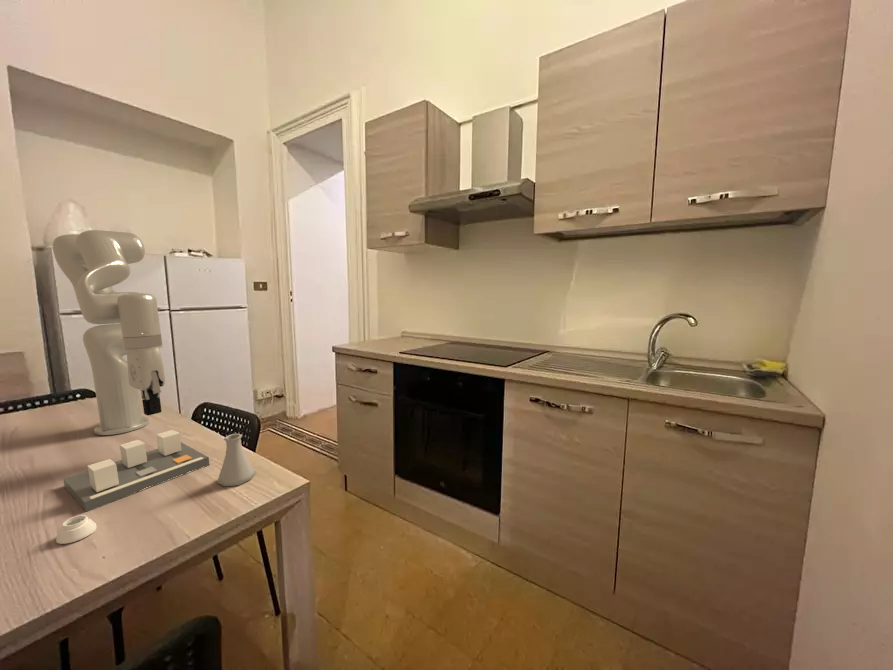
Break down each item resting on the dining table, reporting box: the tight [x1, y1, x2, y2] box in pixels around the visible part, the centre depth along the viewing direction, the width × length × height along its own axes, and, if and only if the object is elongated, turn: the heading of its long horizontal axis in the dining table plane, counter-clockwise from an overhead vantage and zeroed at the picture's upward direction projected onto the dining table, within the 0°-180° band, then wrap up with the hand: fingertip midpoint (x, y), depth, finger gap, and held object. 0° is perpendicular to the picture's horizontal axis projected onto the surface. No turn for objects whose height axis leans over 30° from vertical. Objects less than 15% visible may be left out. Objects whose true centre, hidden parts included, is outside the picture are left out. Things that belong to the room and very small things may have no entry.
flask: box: [216, 433, 257, 487], centre depth 83 cm, size 7×7×10 cm
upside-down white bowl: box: [55, 514, 98, 545], centre depth 65 cm, size 5×3×5 cm
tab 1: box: [87, 458, 119, 492], centre depth 76 cm, size 4×4×4 cm
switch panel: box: [63, 441, 210, 512], centre depth 85 cm, size 16×22×2 cm
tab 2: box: [119, 439, 147, 468], centre depth 86 cm, size 4×4×4 cm
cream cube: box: [155, 429, 182, 456], centre depth 92 cm, size 4×4×4 cm
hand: (153, 413), depth 96 cm, fingers closed
